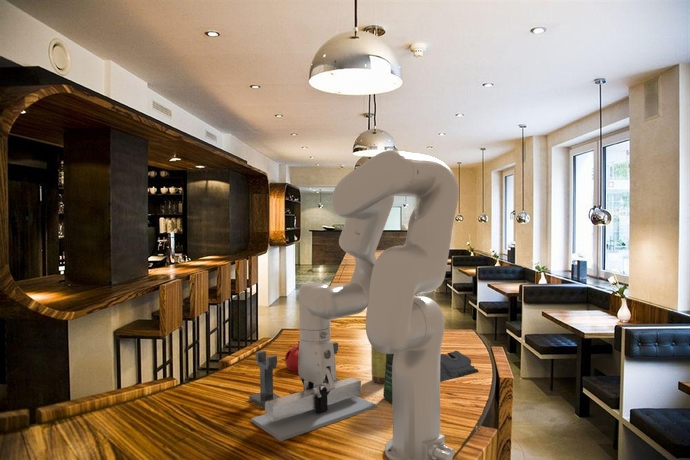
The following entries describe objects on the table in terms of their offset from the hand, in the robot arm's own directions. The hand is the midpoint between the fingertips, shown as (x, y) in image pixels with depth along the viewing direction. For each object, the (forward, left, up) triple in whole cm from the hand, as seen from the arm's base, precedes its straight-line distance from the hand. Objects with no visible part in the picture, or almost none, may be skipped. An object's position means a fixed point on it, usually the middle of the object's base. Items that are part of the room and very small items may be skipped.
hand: (316, 408), depth 115 cm
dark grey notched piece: (+2, -49, -2) cm, 49 cm away
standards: (+15, -5, -1) cm, 16 cm away
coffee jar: (-7, -23, -2) cm, 24 cm away
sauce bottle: (+7, -29, -2) cm, 30 cm away
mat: (0, 0, -1) cm, 1 cm away
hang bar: (0, 0, +1) cm, 1 cm away
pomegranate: (+32, -17, -2) cm, 36 cm away
